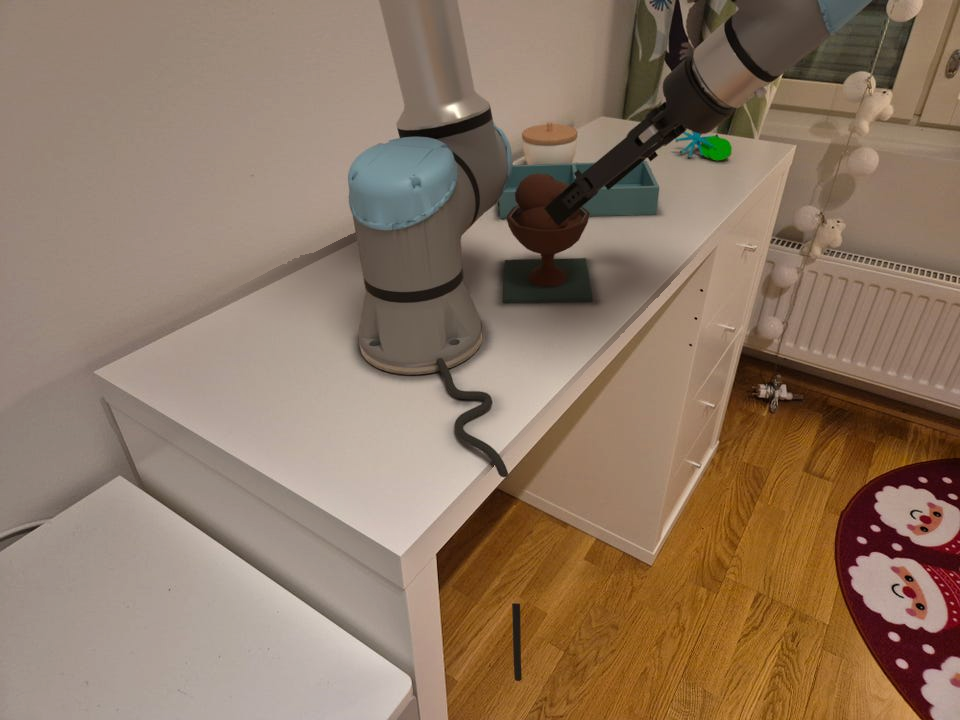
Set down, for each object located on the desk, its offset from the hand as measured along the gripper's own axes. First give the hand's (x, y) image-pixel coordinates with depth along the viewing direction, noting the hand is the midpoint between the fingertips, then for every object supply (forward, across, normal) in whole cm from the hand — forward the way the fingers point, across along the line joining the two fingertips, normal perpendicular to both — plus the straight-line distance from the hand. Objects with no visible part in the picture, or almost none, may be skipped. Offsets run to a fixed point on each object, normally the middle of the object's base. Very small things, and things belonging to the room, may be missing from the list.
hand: (578, 198), depth 83 cm
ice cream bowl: (+12, 0, -6) cm, 14 cm away
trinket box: (+29, +41, +10) cm, 51 cm away
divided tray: (+20, +29, +2) cm, 35 cm away
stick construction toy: (+12, +64, -6) cm, 65 cm away
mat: (+13, 0, -6) cm, 14 cm away
